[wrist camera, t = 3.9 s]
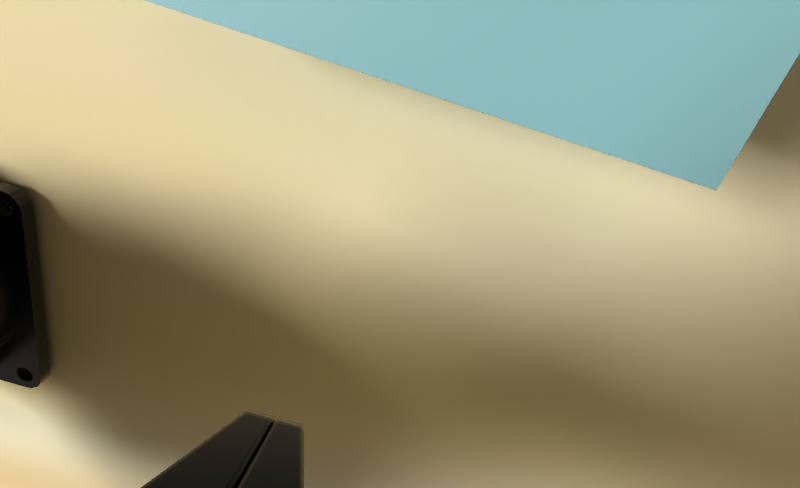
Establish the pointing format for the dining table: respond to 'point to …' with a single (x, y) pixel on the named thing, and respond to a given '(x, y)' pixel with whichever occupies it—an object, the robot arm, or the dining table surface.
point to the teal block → (560, 64)
